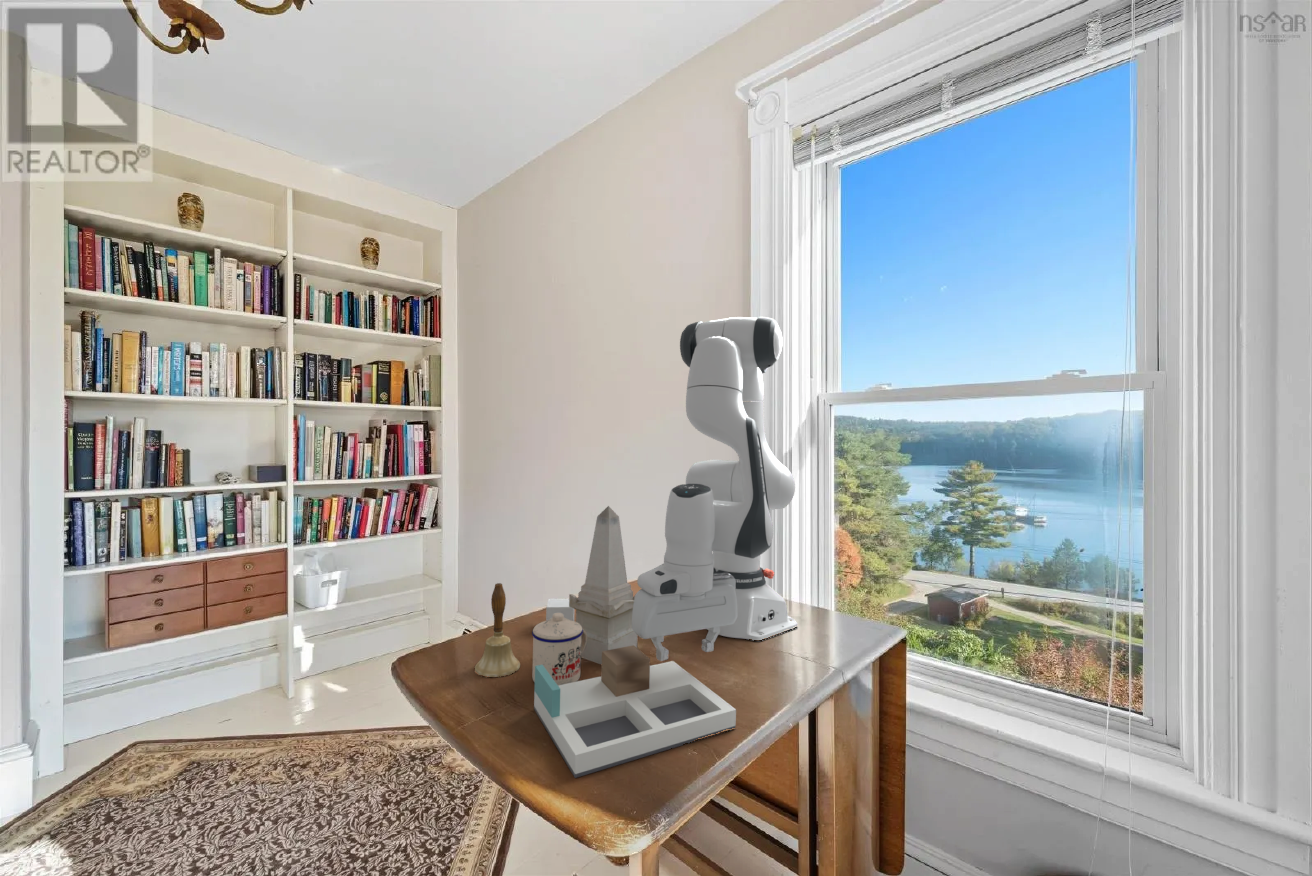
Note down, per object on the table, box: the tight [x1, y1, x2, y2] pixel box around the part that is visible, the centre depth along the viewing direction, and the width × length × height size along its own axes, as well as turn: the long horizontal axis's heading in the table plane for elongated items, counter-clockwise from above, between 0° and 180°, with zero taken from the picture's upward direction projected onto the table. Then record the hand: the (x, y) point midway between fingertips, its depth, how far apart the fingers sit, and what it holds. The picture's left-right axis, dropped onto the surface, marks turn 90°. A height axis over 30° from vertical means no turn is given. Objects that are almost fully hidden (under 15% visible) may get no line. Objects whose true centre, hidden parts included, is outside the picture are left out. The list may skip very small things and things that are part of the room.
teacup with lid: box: [531, 613, 587, 685], centre depth 98 cm, size 12×9×12 cm
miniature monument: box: [568, 505, 638, 666], centre depth 108 cm, size 10×10×30 cm
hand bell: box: [474, 582, 521, 678], centre depth 100 cm, size 8×8×16 cm
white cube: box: [545, 598, 575, 621], centre depth 120 cm, size 6×6×6 cm
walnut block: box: [600, 645, 651, 697], centre depth 88 cm, size 6×6×5 cm
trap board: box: [533, 660, 737, 779], centre depth 83 cm, size 26×19×7 cm
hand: (685, 655), depth 94 cm, fingers open, 8 cm apart
